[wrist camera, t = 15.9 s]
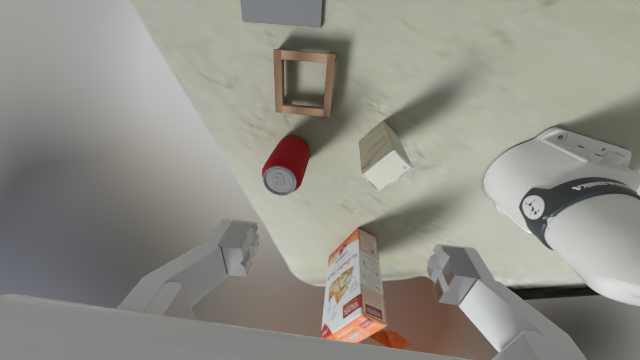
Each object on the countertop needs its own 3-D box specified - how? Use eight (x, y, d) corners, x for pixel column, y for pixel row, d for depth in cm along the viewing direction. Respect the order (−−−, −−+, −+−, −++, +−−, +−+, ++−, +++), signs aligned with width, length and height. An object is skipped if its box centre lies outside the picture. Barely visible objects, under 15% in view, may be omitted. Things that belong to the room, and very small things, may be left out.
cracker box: (356, 225, 55) (361, 314, 38) (376, 236, 56) (390, 327, 39) (326, 256, 62) (318, 343, 45) (345, 265, 63) (344, 353, 46)
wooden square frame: (336, 53, 36) (335, 54, 34) (331, 112, 41) (329, 117, 39) (278, 48, 37) (273, 49, 34) (280, 107, 42) (275, 112, 39)
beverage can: (282, 166, 48) (265, 200, 38) (274, 136, 45) (252, 165, 35) (313, 163, 47) (304, 197, 37) (307, 132, 44) (295, 160, 34)
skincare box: (383, 119, 41) (395, 147, 31) (398, 136, 42) (415, 167, 32) (357, 142, 44) (360, 175, 34) (372, 157, 45) (380, 192, 35)
